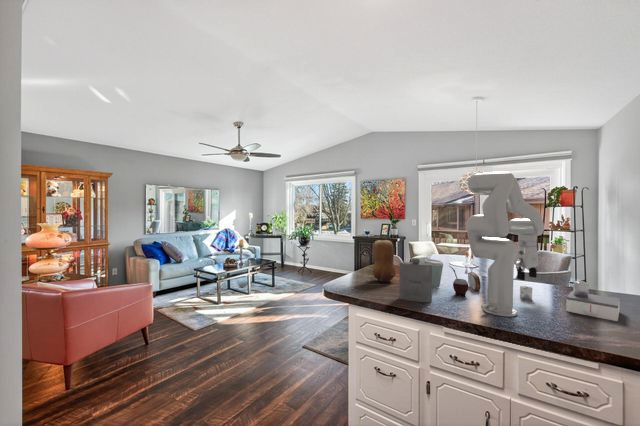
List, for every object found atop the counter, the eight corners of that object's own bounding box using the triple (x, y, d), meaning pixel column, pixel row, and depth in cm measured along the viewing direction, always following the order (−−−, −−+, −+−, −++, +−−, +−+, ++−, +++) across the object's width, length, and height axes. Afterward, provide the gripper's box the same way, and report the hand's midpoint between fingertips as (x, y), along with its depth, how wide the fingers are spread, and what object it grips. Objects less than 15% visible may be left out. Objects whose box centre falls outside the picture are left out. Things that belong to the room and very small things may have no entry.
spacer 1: (528, 301, 144) (528, 288, 144) (517, 298, 149) (517, 286, 149) (534, 300, 147) (534, 287, 147) (523, 297, 151) (523, 285, 151)
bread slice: (481, 292, 159) (481, 276, 159) (474, 292, 160) (475, 276, 159) (472, 285, 174) (472, 270, 174) (466, 285, 174) (467, 270, 174)
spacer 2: (584, 298, 130) (585, 284, 130) (571, 295, 135) (571, 281, 135) (590, 296, 132) (590, 283, 132) (576, 293, 137) (577, 280, 137)
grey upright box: (398, 299, 145) (399, 258, 144) (399, 296, 150) (400, 256, 150) (431, 303, 139) (432, 260, 139) (431, 300, 145) (432, 258, 145)
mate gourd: (471, 296, 151) (471, 267, 150) (459, 298, 148) (460, 268, 148) (459, 292, 158) (459, 264, 157) (447, 294, 155) (448, 265, 155)
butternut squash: (382, 277, 190) (382, 238, 189) (400, 282, 179) (400, 240, 179) (367, 281, 181) (368, 239, 180) (385, 285, 170) (386, 241, 170)
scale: (617, 322, 119) (618, 306, 119) (565, 311, 130) (566, 297, 130) (619, 312, 131) (619, 298, 130) (571, 303, 142) (571, 290, 142)
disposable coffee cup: (444, 286, 171) (445, 259, 171) (441, 290, 162) (441, 262, 162) (425, 283, 177) (426, 258, 176) (421, 287, 168) (421, 260, 167)
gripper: (525, 246, 140) (524, 282, 141) (545, 243, 148) (545, 277, 149) (508, 244, 147) (508, 278, 148) (529, 241, 155) (529, 274, 155)
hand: (526, 278), depth 148 cm, fingers open, 9 cm apart
